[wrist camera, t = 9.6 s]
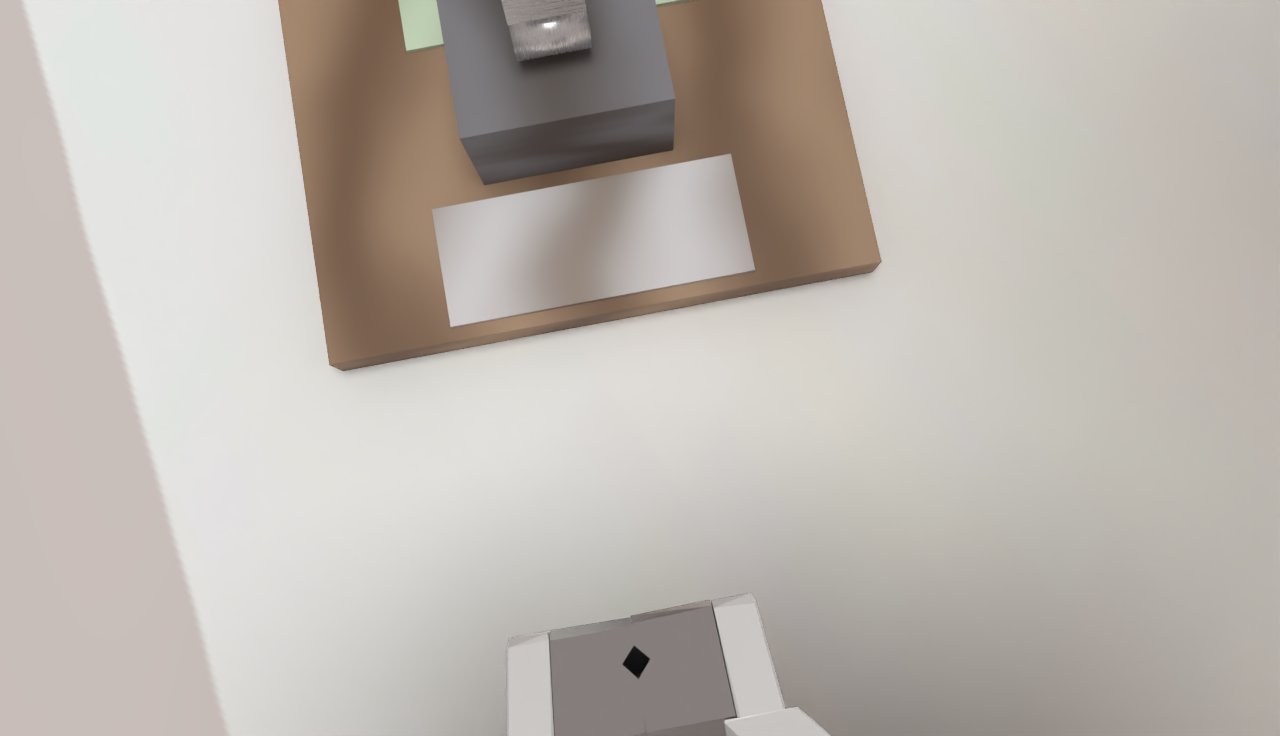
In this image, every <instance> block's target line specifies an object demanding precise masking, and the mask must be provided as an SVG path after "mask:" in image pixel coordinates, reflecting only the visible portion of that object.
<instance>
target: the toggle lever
mask: <svg viewBox="0 0 1280 736" xmlns="http://www.w3.org/2000/svg"><path fill="white" fill-rule="evenodd" d="M501 2H502V6H503V9H504V13H505V17H506V21H507V25H509V31H510V36H511V40H512V45H513V49H514V53H515V57H516V60H517V62H518V61H523V60H529V59H534V58H540V57H545V56H550V55H556V54H561V53H567V52H572V51H577V50H583V49H588V48H593V45H592V39H591V33H590V27H589V22H588V16H587V9H586V3H585V0H501Z"/></svg>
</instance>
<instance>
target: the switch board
mask: <svg viewBox="0 0 1280 736" xmlns="http://www.w3.org/2000/svg"><path fill="white" fill-rule="evenodd" d="M278 3H279V10H280V17H281V24H282V31H283V38H284V45H285V52H286V59H287V67H288V74H289V81H290V88H291V95H292V102H293V109H294V116H295V123H296V131H297V138H298V145H299V152H300V159H301V166H302V173H303V180H304V187H305V195H306V202H307V209H308V216H309V223H310V230H311V237H312V244H313V251H314V259H315V266H316V273H317V280H318V287H319V294H320V301H321V308H322V316H323V323H324V330H325V337H326V344H327V351H328V358H329V365H331V366H333V367H335V368H338V369H340V370H342V371H345V370H351V369H356V368H361V367H367V366H372V365H377V364H383V363H388V362H393V361H399V360H404V359H409V358H415V357H420V356H425V355H431V354H436V353H441V352H447V351H452V350H457V349H463V348H468V347H473V346H479V345H484V344H489V343H495V342H500V341H505V340H511V339H516V338H521V337H527V336H532V335H537V334H543V333H548V332H553V331H559V330H564V329H570V328H575V327H580V326H586V325H591V324H596V323H602V322H607V321H612V320H618V319H623V318H628V317H634V316H639V315H644V314H650V313H655V312H660V311H666V310H671V309H676V308H682V307H687V306H692V305H698V304H703V303H708V302H714V301H719V300H724V299H730V298H735V297H740V296H746V295H751V294H756V293H762V292H767V291H772V290H778V289H783V288H788V287H794V286H799V285H804V284H810V283H815V282H820V281H826V280H831V279H837V278H842V277H847V276H853V275H858V274H863V273H869V272H873V270H874V269H875V268H876V267H877V266H878V265H879V264H880V262H881V258H880V254H879V250H878V245H877V241H876V236H875V232H874V228H873V223H872V219H871V215H870V210H869V206H868V202H867V197H866V193H865V189H864V184H863V180H862V176H861V171H860V167H859V163H858V158H857V154H856V149H855V145H854V141H853V136H852V132H851V128H850V123H849V119H848V115H847V110H846V106H845V102H844V97H843V93H842V89H841V84H840V80H839V76H838V71H837V67H836V62H835V58H834V54H833V49H832V45H831V41H830V36H829V32H828V28H827V23H826V19H825V15H824V10H823V6H822V2H821V0H585V3H586V9H587V16H588V22H589V27H590V33H591V39H592V45H593V48H588V49H583V50H577V51H572V52H567V53H561V54H556V55H550V56H545V57H540V58H534V59H529V60H523V61H518V62H517V60H516V57H515V53H514V49H513V45H512V40H511V36H510V31H509V25H507V21H506V17H505V13H504V9H503V6H502V2H501V0H278Z"/></svg>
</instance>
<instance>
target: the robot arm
mask: <svg viewBox="0 0 1280 736" xmlns="http://www.w3.org/2000/svg"><path fill="white" fill-rule="evenodd" d="M506 736H831V735H830V734H829V733H828V732H826V731H825V730H824V729H823V728H822V727H821V726H820V725H818V724H817V723H816V722H815V721H814V720H813V719H812V718H810V717H809V716H808V715H807V714H806V713H805V712H804V711H802V710H801V709H800V708H799V707H791V708H785V704H784V701H783V697H782V693H781V690H780V686H779V682H778V679H777V675H776V671H775V668H774V664H773V661H772V657H771V653H770V650H769V646H768V642H767V639H766V635H765V631H764V628H763V624H762V620H761V617H760V613H759V609H758V606H757V602H756V599H755V598H754V596H753V595H752V593H747V594H741V595H736V596H731V597H726V598H721V599H715V600H712V601H711V602H710V600H706V601H701V602H696V603H691V604H686V605H681V606H676V607H671V608H666V609H661V610H657V611H652V612H647V613H642V614H637V615H632V616H631V617H630V618H624V619H618V620H612V621H605V622H599V623H593V624H587V625H581V626H575V627H569V628H563V629H556V630H551V631H545V632H540V633H534V634H529V635H523V636H517V637H512V638H509V641H508V645H507V649H506Z"/></svg>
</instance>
